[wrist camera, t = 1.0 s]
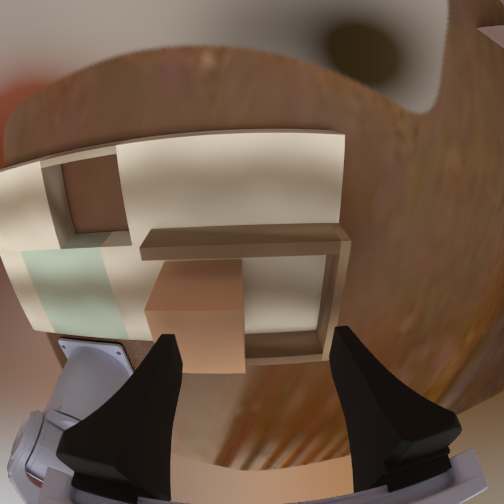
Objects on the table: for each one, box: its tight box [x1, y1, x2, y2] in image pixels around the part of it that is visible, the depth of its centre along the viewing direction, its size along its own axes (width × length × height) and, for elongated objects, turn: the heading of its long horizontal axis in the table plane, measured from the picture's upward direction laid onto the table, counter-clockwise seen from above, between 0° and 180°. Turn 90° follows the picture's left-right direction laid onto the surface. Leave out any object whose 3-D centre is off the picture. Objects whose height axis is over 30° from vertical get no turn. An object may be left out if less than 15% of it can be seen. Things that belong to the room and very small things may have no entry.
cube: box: [144, 259, 245, 374], centre depth 18 cm, size 5×5×5 cm
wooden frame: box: [139, 223, 352, 366], centre depth 19 cm, size 10×12×2 cm
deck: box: [0, 129, 345, 341], centre depth 20 cm, size 15×26×2 cm, turn 91°
